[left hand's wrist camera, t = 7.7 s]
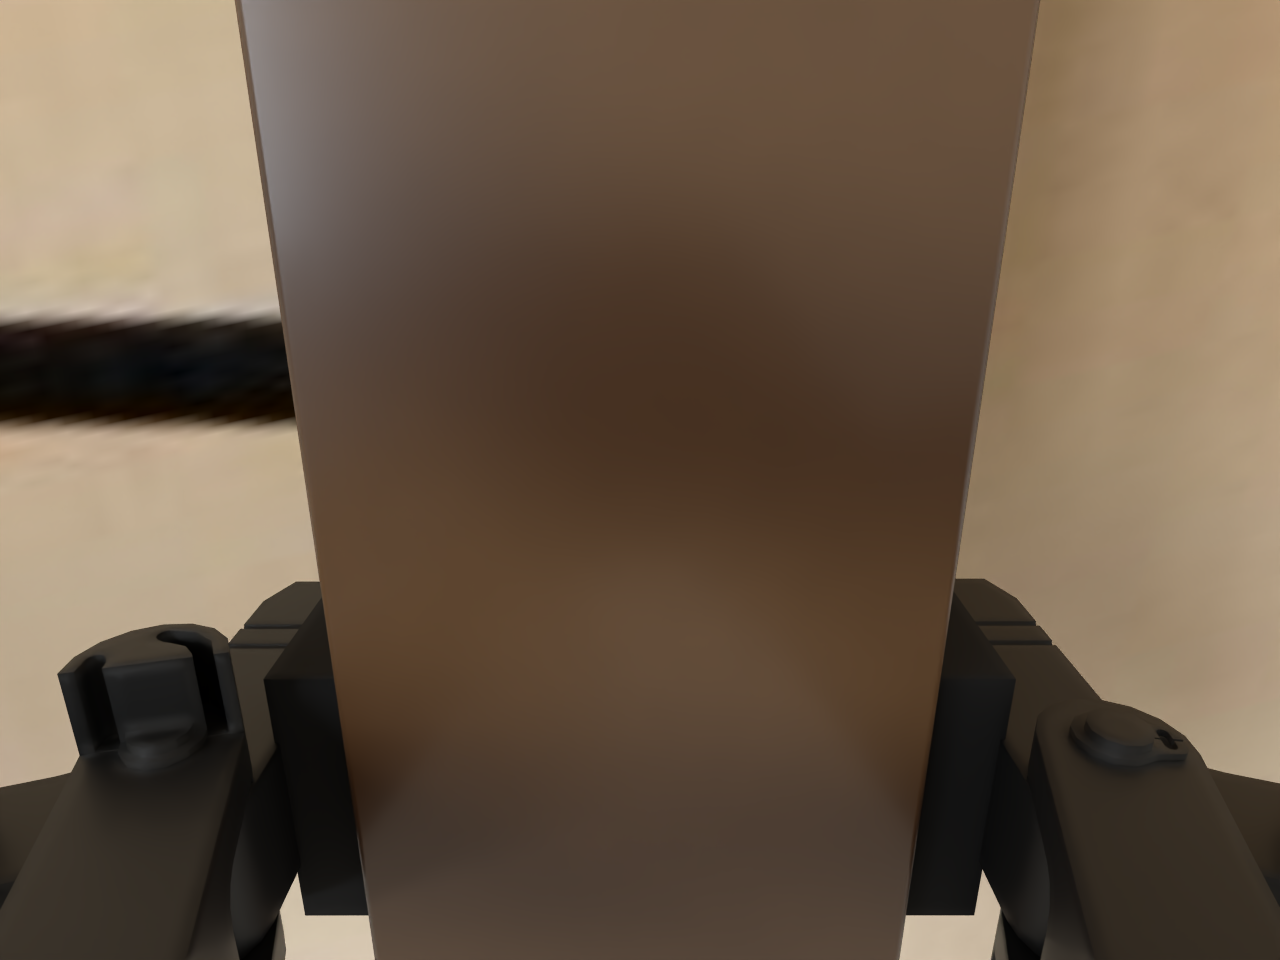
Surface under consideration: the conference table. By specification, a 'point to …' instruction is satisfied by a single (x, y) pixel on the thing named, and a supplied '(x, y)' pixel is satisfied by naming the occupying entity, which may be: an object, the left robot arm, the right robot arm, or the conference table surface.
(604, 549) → the bar
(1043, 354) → the conference table surface
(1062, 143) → the conference table surface
